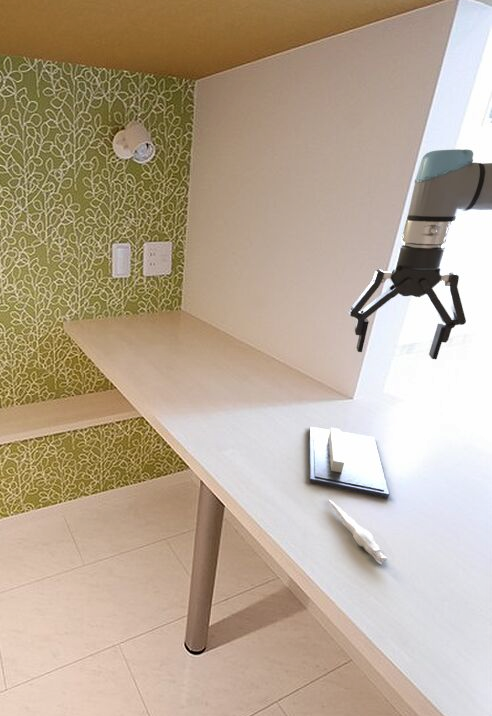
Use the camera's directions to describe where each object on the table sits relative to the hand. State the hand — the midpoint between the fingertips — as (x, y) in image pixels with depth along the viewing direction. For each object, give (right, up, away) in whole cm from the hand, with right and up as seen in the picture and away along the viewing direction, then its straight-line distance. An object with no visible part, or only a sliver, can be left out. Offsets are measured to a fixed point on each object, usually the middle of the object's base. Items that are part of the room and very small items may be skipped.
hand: (395, 353), depth 90 cm
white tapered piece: (-17, -32, -16) cm, 40 cm away
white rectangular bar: (-11, -21, +3) cm, 24 cm away
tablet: (-9, -23, +3) cm, 25 cm away
